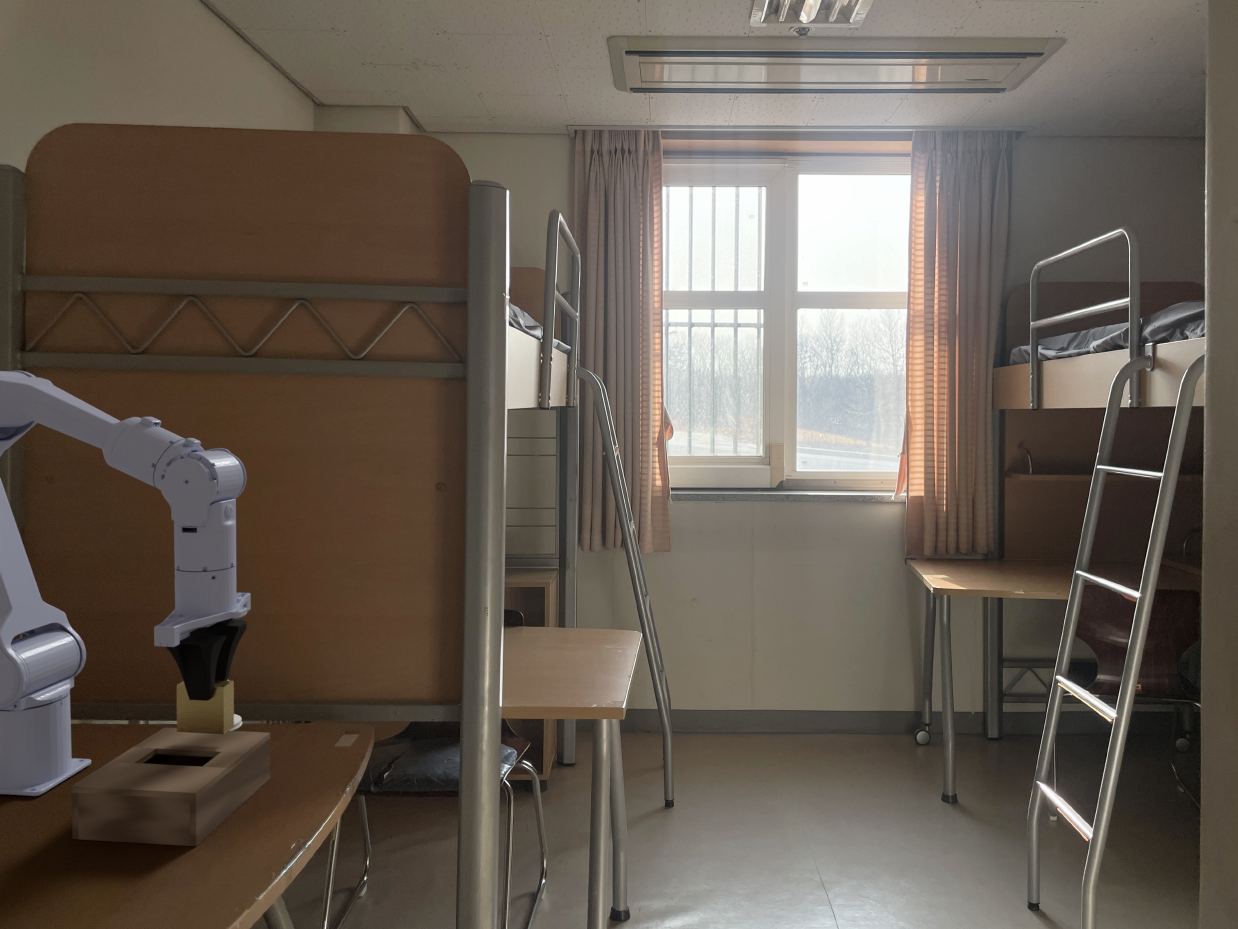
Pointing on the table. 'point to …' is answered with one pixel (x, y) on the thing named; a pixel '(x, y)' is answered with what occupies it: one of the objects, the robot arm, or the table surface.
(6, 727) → the robot arm
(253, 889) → the table surface
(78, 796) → the beige block with hole
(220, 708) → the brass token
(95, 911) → the table surface
